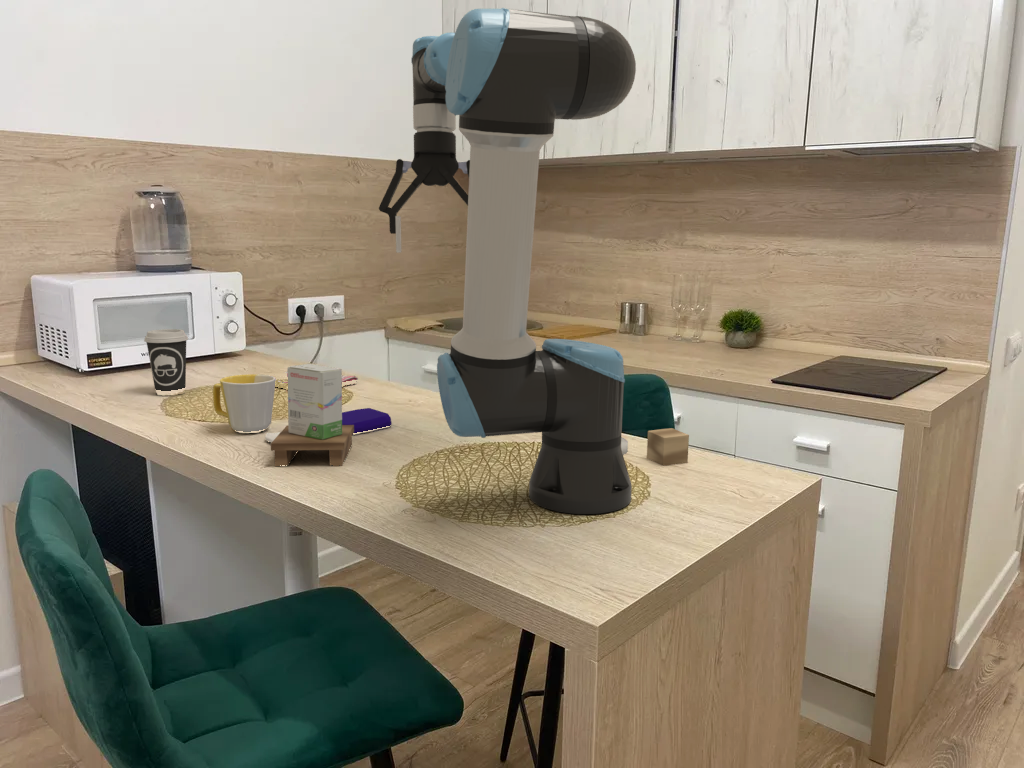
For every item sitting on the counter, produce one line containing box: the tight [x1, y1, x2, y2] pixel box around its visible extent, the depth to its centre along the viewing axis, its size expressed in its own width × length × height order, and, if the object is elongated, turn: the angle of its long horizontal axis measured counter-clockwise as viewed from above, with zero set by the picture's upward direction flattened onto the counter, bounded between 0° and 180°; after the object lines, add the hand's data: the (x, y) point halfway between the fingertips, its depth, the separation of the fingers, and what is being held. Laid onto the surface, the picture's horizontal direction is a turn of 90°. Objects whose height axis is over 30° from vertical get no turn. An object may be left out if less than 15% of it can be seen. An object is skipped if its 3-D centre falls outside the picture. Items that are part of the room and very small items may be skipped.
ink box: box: [286, 363, 343, 440], centre depth 132 cm, size 9×5×12 cm, turn 58°
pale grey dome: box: [621, 436, 629, 456], centre depth 139 cm, size 9×9×2 cm
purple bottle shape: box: [264, 407, 392, 444], centre depth 149 cm, size 3×11×24 cm
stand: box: [270, 424, 354, 467], centre depth 133 cm, size 12×12×4 cm
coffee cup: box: [143, 328, 189, 391], centre depth 182 cm, size 10×10×15 cm
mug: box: [212, 373, 276, 432], centre depth 150 cm, size 14×10×10 cm
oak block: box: [646, 427, 690, 467], centre depth 132 cm, size 5×5×5 cm
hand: (436, 252), depth 141 cm, fingers open, 13 cm apart
